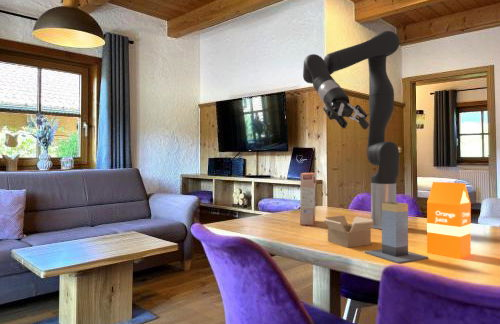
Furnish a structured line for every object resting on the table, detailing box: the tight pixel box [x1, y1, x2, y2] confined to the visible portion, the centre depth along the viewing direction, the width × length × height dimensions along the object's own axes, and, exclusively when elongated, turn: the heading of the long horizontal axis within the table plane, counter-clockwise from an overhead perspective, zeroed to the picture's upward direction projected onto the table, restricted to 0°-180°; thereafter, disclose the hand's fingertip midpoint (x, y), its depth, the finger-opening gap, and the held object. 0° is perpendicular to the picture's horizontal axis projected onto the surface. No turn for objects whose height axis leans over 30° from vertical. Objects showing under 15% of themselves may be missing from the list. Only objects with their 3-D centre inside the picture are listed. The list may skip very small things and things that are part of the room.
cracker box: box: [299, 172, 316, 227], centre depth 156 cm, size 14×6×21 cm, turn 168°
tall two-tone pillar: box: [381, 201, 409, 257], centre depth 103 cm, size 4×5×14 cm
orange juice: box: [426, 181, 472, 260], centre depth 105 cm, size 8×9×20 cm
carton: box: [323, 215, 374, 248], centre depth 119 cm, size 14×14×8 cm
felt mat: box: [364, 248, 429, 264], centre depth 103 cm, size 11×12×1 cm
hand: (356, 126), depth 117 cm, fingers open, 8 cm apart
